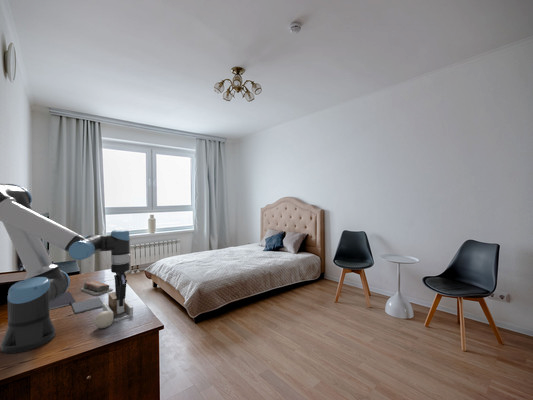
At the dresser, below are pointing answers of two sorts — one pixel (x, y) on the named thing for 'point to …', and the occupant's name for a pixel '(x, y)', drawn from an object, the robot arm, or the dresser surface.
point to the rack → (127, 308)
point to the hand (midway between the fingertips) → (120, 312)
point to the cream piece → (103, 319)
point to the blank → (114, 303)
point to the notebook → (62, 301)
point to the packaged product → (96, 288)
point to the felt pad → (87, 305)
